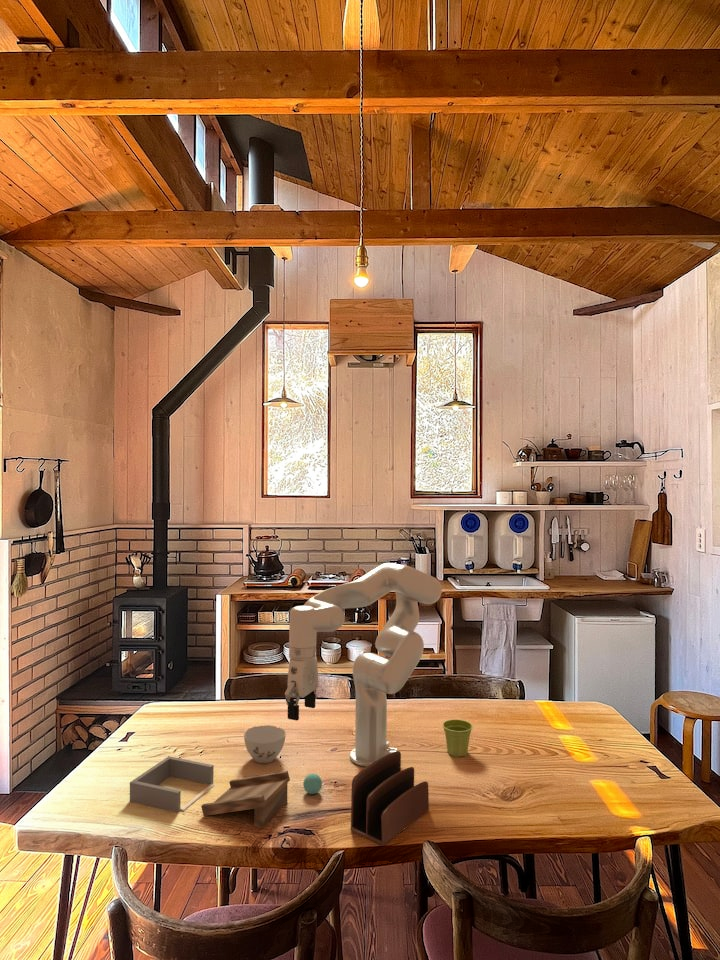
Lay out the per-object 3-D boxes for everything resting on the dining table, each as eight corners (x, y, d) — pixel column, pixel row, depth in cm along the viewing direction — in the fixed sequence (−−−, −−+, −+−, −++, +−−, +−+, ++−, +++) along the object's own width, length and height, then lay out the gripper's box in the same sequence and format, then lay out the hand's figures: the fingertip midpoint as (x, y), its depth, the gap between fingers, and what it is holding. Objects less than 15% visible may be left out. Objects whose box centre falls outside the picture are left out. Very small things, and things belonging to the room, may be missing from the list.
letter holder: (349, 831, 147) (350, 773, 147) (397, 798, 163) (398, 745, 162) (382, 847, 141) (383, 786, 141) (429, 811, 156) (430, 756, 156)
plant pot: (437, 755, 187) (437, 727, 187) (448, 743, 196) (448, 716, 196) (467, 762, 183) (467, 733, 183) (476, 750, 191) (476, 722, 191)
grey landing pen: (216, 783, 169) (216, 765, 169) (180, 813, 154) (180, 793, 154) (168, 773, 175) (168, 756, 175) (129, 801, 160) (129, 782, 160)
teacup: (279, 770, 177) (280, 742, 177) (238, 767, 179) (238, 740, 178) (291, 747, 192) (291, 722, 192) (252, 745, 193) (252, 720, 193)
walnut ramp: (290, 801, 160) (290, 771, 160) (263, 830, 147) (264, 797, 147) (231, 788, 166) (231, 759, 166) (201, 815, 153) (201, 783, 153)
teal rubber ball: (324, 790, 166) (324, 771, 166) (317, 799, 161) (317, 780, 161) (308, 786, 168) (308, 768, 168) (300, 795, 163) (300, 777, 163)
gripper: (299, 661, 159) (298, 727, 159) (328, 645, 175) (327, 704, 175) (274, 658, 162) (273, 722, 162) (305, 642, 178) (304, 700, 178)
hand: (301, 713), depth 169 cm, fingers open, 9 cm apart
